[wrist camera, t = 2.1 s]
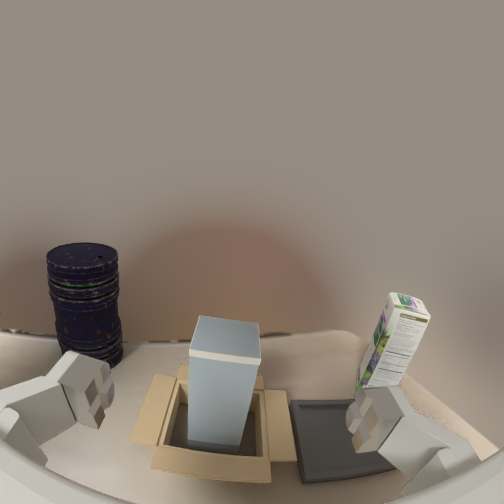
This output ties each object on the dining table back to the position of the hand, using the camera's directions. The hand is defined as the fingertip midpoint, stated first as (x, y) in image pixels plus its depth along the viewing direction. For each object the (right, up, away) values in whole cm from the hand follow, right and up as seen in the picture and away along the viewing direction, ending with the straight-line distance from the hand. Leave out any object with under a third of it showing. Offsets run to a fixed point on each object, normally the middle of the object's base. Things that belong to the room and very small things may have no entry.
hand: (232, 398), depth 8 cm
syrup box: (+19, -16, +28) cm, 37 cm away
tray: (+11, -17, +18) cm, 27 cm away
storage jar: (-22, -10, +25) cm, 35 cm away
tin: (-3, -15, +17) cm, 23 cm away
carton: (-3, -15, +17) cm, 23 cm away
